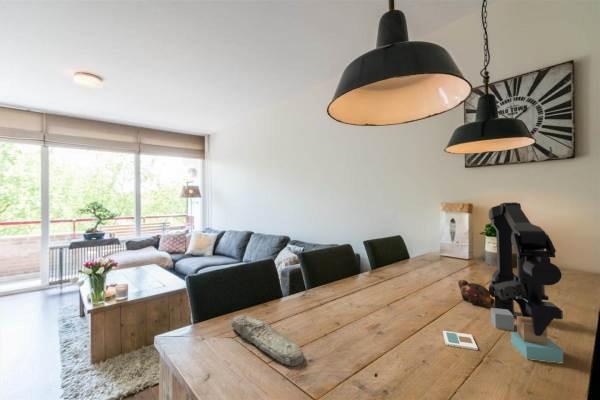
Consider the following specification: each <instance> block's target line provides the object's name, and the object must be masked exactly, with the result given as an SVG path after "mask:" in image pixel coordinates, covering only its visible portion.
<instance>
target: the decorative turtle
mask: <svg viewBox="0 0 600 400" xmlns="http://www.w3.org/2000/svg"><path fill="white" fill-rule="evenodd" d="M457 285H458V288H459V290H460V294H461V298H462V299H463V301H464V302H466V301H470V303H471V304H472V305H473V306H475V305H477V304H478V303H479V302H480V303H482V304H486V305H491V306H492V305H494V304H495V298H494V297H492V296H491V295H490V294H489V289H487V288H486V287H485V286H484V285H481V284H479V283H476V282H470V283H469V282H468V281H467V280H465V279H460V280H459V281H458V284H457Z"/></svg>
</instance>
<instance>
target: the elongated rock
mask: <svg viewBox="0 0 600 400" xmlns="http://www.w3.org/2000/svg"><path fill="white" fill-rule="evenodd" d="M231 328H233V329H234V330H235V331H236V332H237V333H238V334H239V335H240V338H241V337H242V339H244V340H246V341H248V342H249V343H251V344H252V343H253V344H254V345H255V346H256V347H257V348H258V349H259V350H260V351H263V352H264V353H266V354H268V355H269V356H270V358H272V359H274V360H275V359H276V361H277V362H278V363H279V362H280V363H281V364H282V365H283V364H284V365H287V366H290V367H294V366H295V367H296V366H300V365H301V364H302V363H304V361H305V360H304V358H305V356H304V352H303V350H302V349H301V346H299V345H298V344H297V343H295V342H293V341H291V340H290V339H289V338H288V337H287V336H285V335H283V334H281V333H280V332H279V331H277V330H276V329H275V328H273V327H272V326H271V325H270V323H269V322H265V321H263V320H261V319H259V318H256V317H254V316H253V317H252V316H250V315H247V314H246V315H245V314H238V315H236V316H234V317H233V319H232V320H231Z"/></svg>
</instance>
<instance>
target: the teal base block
mask: <svg viewBox="0 0 600 400" xmlns="http://www.w3.org/2000/svg"><path fill="white" fill-rule="evenodd" d="M510 335H511V336H510V338H511V340H510V341H511V343H512V344H513V345H514V346H515V347H516V348H517V349H518V350H519V351H520V352H521V353H522V354H523V355H524V356H525V357H526V358H527V359H537V360H545V361H555V362H563V363H564V349H563V348H561V347H560V346H559V345H558V344H556V343H555V342H554V341H553V340H551V339H550V338H549V337H547V345H545V344H538V343H531V342H524V341H523V339H522V338H521V337H520V336H519V334H518V333H517V331H511V332H510ZM512 344H511V345H512ZM513 345H512V346H513ZM514 346H513V347H514ZM515 347H514V348H515ZM516 348H515V349H516ZM517 349H516V350H517ZM518 350H517V351H518ZM519 351H518V352H519ZM520 352H519V353H520ZM521 353H520V354H521ZM522 354H521V355H522ZM523 355H522V356H523ZM524 356H523V357H524Z"/></svg>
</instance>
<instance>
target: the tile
mask: <svg viewBox="0 0 600 400" xmlns="http://www.w3.org/2000/svg"><path fill="white" fill-rule="evenodd" d="M442 335H443V339H444V342H445V346H448V345H449V347H454V346H455V347H456V348H460V347H461V349H468V350H474V351H478V350H479V349H478V346H477V344H476V341H475V340H474V337H473V334H470V333H462V332H455V331H448V330H442ZM455 347H454V348H455Z"/></svg>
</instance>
